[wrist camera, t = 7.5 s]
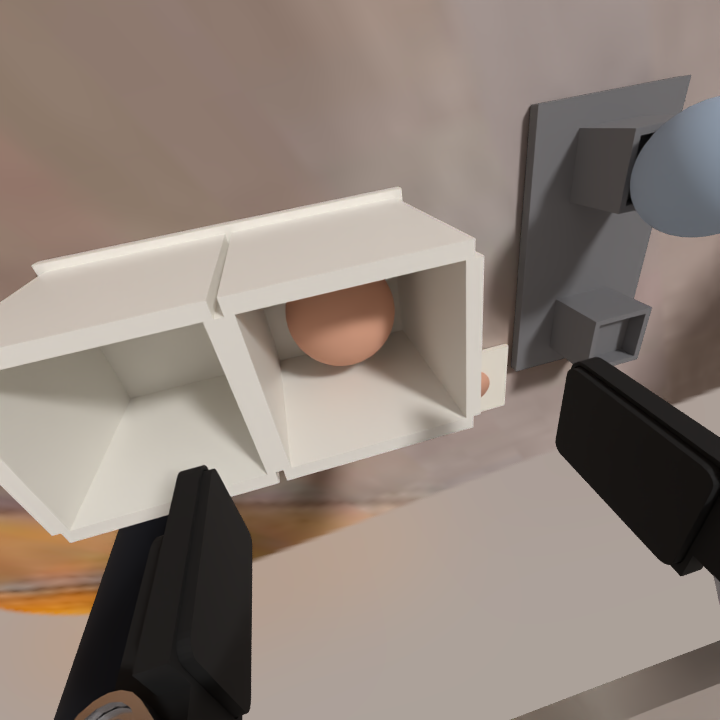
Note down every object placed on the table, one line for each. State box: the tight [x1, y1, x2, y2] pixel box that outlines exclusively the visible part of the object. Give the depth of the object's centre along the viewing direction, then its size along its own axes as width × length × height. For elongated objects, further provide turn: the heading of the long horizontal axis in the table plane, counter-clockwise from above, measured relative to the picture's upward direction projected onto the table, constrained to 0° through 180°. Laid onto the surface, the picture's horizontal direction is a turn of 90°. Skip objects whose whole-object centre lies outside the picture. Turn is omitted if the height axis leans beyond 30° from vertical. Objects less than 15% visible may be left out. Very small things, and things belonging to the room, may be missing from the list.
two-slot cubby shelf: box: [0, 187, 484, 543], centre depth 16 cm, size 16×8×9 cm, turn 99°
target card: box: [480, 344, 508, 412], centre depth 26 cm, size 9×5×1 cm, turn 99°
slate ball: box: [630, 96, 720, 237], centre depth 15 cm, size 5×5×5 cm
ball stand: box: [511, 75, 691, 371], centre depth 21 cm, size 8×15×4 cm, turn 9°
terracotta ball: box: [285, 279, 395, 366], centre depth 18 cm, size 5×5×5 cm
